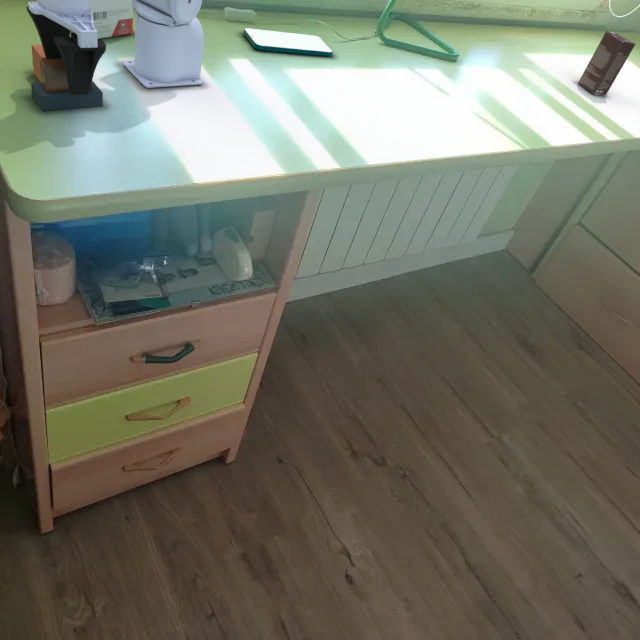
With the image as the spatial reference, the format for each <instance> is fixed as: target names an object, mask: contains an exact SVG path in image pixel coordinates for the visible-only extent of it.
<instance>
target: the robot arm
mask: <svg viewBox="0 0 640 640" xmlns="http://www.w3.org/2000/svg"><path fill="white" fill-rule="evenodd" d="M202 3H203V0H132V7H133V9H135V27H134V28H135V30H134V58H133V59H134V60H124V61H123V62H122V64H123V66H124V67H125V68H126V69H127V70H128V71H129V72H130V73H131V74H132V75H133V76H134V77H135V78H136V79H137V80H138V81H139V83H140V84H142V86H143V87H144V88H146V89H151V88H152V89H153V88H167V87H168V88H169V87H182V86H197V85H202V84H203V80H202V79H201V73H202V63H203V62H202V61H203V53H204V44H205V42H204V41H205V40H204V39H205V38H204V30H203V26H202V24H201V22H200V20H199V18H198V17H197V15H198V14H199V12H200V10H201V7H202ZM26 12H27V13H28V14H29V16H30V18H31V20H32V22H33V24H34V26H35V29H36V32H37V33H38V37H39V38H40V43H41V45H42V47H43V50H44V54H45V57H46V59H63V62H64V66H65V70H66V76H67V81H68V86H69V89H70V92H71V94H72V95H74V96H75V95H88V94H89V91H90V87H91V83H92V81H93V80H94V79H93V78H94V75H95V71H96V69H97V67H98V64H99V61H100V60H101V58H102V57H103V56H104V55H105V53H106V51H107V44H106V42H104V40H103V39H102V38H100V39H97V30H96V29H95V28H94V25H93V16H92V9H91V7H90V0H36V1H28V2H27V6H26Z"/></svg>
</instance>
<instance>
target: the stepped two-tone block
mask: <svg viewBox="0 0 640 640" xmlns="http://www.w3.org/2000/svg"><path fill="white" fill-rule="evenodd" d="M40 72H41V82H34V83H33V82H32V83H30V89H31V97H32V100H33V101H34V103H35V104H36V105H37V106H38V108H39V109H40V110H41V111H42V112H45V111H47V112H48V111H57V110H58V111H59V110H60V111H61V110H71V109H72V110H73V109H84V108H97V107H99V108H100V107H103V106H104V105H103V104H104V102H103V101H104V97H103V96H104V95H103V94H104V92H103V91H102V90H101V88H99V87H98V85H97V84H96V83H95V81H93V80H92V83H91V87H90V91H89V94H88V95H75V96H74V95H72V94H71V92H70V89H69V86H68V81H67V76H66V70H65V66H64V62H63V59H40Z"/></svg>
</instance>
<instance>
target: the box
mask: <svg viewBox="0 0 640 640" xmlns="http://www.w3.org/2000/svg"><path fill="white" fill-rule="evenodd" d="M598 43H599V44H598V45H597V47H596V48H595V50H594V52H593V55H592V56H591V58H590V60H589V61H588V64H587V65H586V67H585V69H584V71H583V73H582V75H581V76H580V79H579V80H578V81H577V83H578V84H579V85H580V86H581V87H583V88H584V89H586V90H587V91H589V92H590V93H591V94H593V95H594V96H606V95H608V93H609V91H610V89H611V88H612V86H613V84H614V82H615V80H616V79H617V78H618V76H619V74H620V72H621V70H622V68H623V66H624V65H625V64H626V61H627V60H628V58H629V57H630V55H631V53H632V52H633V49H634V48H635V47H636V43H635V42H634V41H632V40H630V39H628V38H627V37H625V36H624V35H622V34H620V33H617V32H613V31H608V30H606V31H605V33H604V34H603V36H602V38H601V40H600V42H598Z"/></svg>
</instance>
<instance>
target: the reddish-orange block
mask: <svg viewBox="0 0 640 640" xmlns="http://www.w3.org/2000/svg"><path fill="white" fill-rule="evenodd" d="M31 55H32V56H31V57H32V67H33V75H34V76H35V77H36V78H37V80H38V81H39V83H41V72H40V59H46V57H45V54H44V50H43V47H42V44H31Z"/></svg>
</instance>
